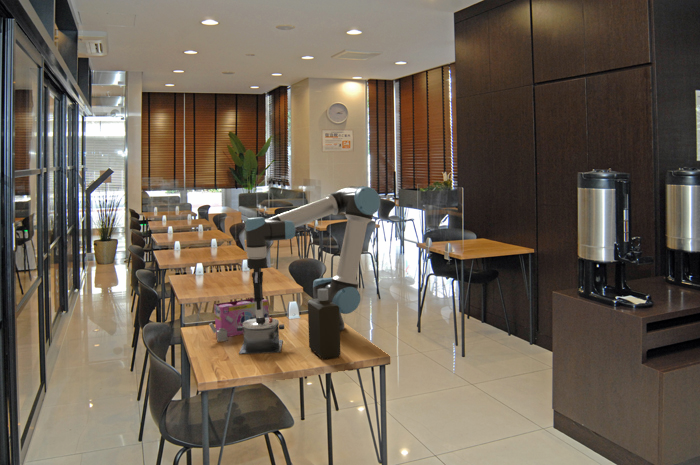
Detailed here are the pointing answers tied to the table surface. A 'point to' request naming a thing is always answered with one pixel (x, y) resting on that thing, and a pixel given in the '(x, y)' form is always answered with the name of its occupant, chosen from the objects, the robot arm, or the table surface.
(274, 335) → the pot
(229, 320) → the gum box
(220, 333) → the lighter
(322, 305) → the bottle
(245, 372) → the table surface
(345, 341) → the table surface
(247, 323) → the lid
